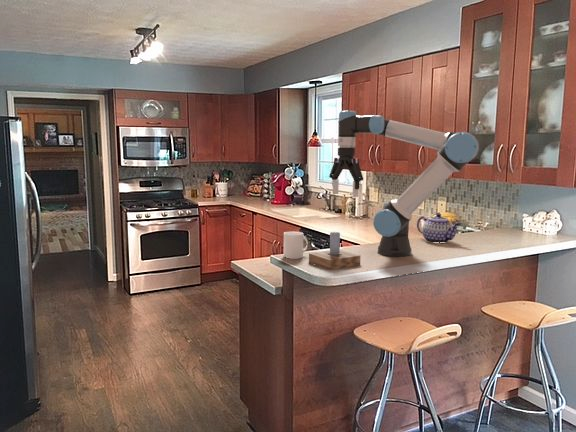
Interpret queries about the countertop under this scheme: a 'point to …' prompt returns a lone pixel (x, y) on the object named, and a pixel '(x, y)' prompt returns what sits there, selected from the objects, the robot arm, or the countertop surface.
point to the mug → (294, 245)
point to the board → (334, 259)
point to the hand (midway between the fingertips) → (345, 195)
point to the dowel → (334, 243)
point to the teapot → (437, 229)
